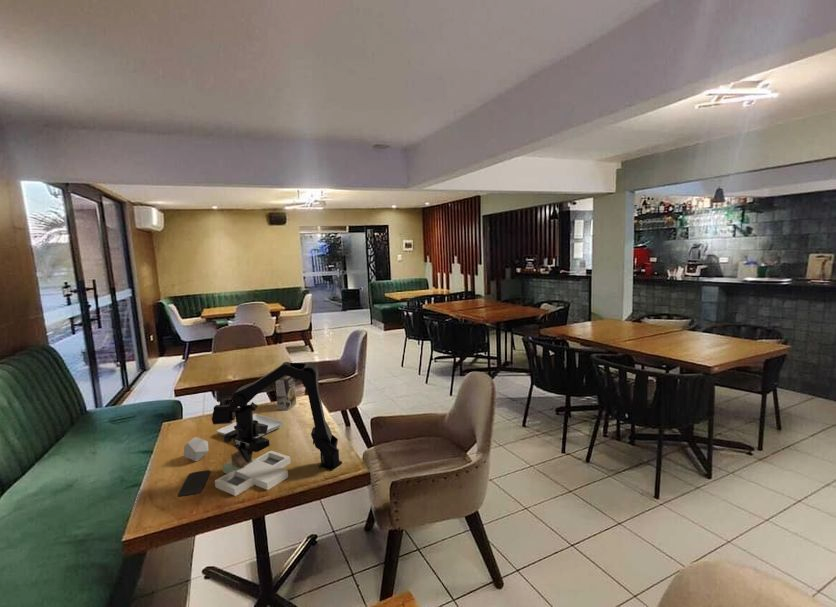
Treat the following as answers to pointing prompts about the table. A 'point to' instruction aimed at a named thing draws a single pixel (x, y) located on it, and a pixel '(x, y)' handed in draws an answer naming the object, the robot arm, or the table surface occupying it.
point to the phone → (194, 483)
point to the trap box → (254, 473)
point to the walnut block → (239, 460)
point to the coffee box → (285, 393)
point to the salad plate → (261, 419)
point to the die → (195, 449)
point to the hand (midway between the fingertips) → (248, 462)
